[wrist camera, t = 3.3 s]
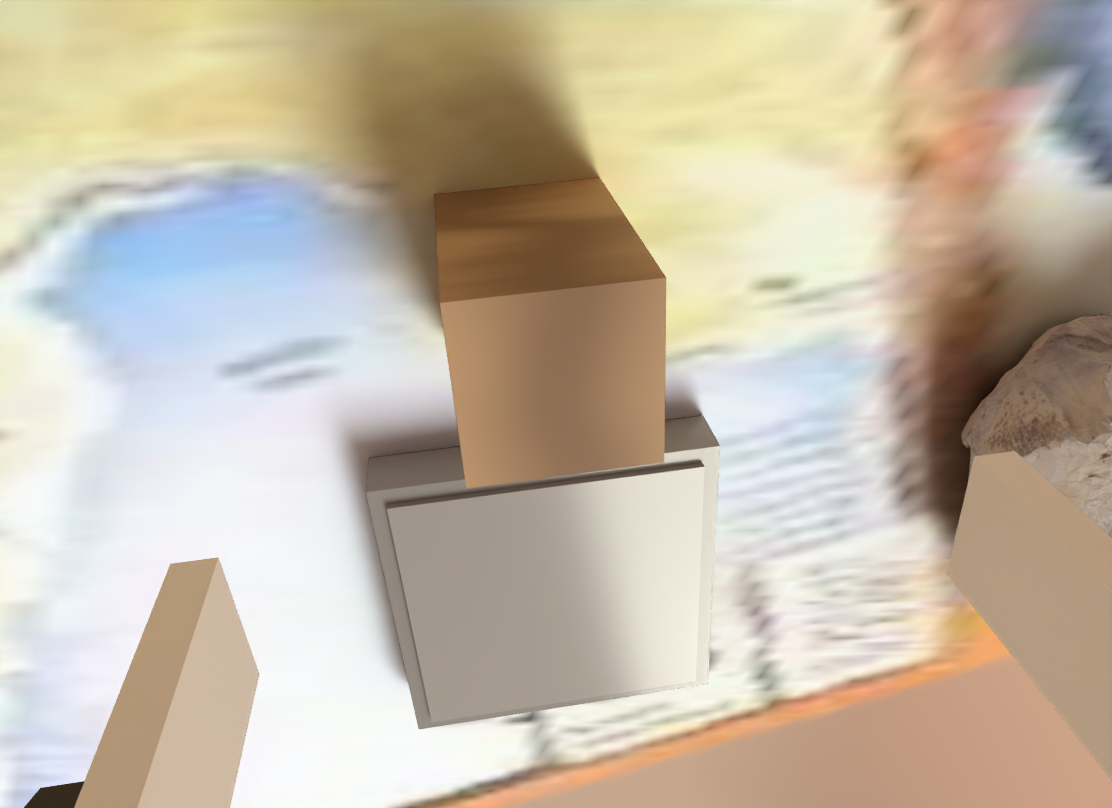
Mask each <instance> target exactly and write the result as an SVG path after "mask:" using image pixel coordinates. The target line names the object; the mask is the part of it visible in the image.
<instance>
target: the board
mask: <svg viewBox="0 0 1112 808" xmlns="http://www.w3.org/2000/svg"><path fill="white" fill-rule="evenodd" d="M719 457H720V445H719V443H718V441H717V440H716V438H715V436H714V434H713V432H712V431H711V429H710V427H709V425H708V423H707V422H706V420H705V418H704V416H696V417H688V418H680V419H673V420H665V442H664V462H663V463H656V464H648V465H640V466H633V467H625V468H618V469H610V470H603V471H595V472H587V473H580V474H572V475H565V476H557V477H549V478H542V479H534V480H527V481H519V482H512V483H504V484H496V485H489V486H481V487H474V488H466V482H465V475H464V468H463V461H462V454H461V447H453V448H445V449H437V450H429V451H421V452H413V453H405V454H398V455H390V456H382V457H374V458H369V463H368V474H367V485H366V496H367V500H368V505H369V509H370V514H371V518H372V522H373V527H374V531H375V536H376V540H377V545H378V549H379V554H380V558H381V563H382V567H383V572H384V576H385V581H386V585H387V590H388V594H389V598H390V603H391V607H392V612H393V616H394V621H395V625H396V630H397V634H398V639H399V643H400V648H401V652H402V657H403V661H404V666H405V670H406V674H407V679H408V683H409V688H410V692H411V697H412V701H413V706H414V710H415V715H416V719H417V724H418V728H419V729H424V728H430V727H437V726H443V725H449V724H456V723H462V722H469V721H475V720H481V719H488V718H494V717H501V716H507V715H513V714H520V713H526V712H533V711H539V710H545V709H552V708H558V707H564V706H571V705H577V704H584V703H590V702H596V701H603V700H609V699H616V698H622V697H628V696H635V695H641V694H648V693H654V692H660V691H667V690H673V689H679V688H686V687H692V686H699V685H705V684H708V669H709V650H710V631H711V611H712V592H713V573H714V554H715V534H716V515H717V496H718V477H719Z"/></svg>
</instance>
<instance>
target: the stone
mask: <svg viewBox="0 0 1112 808" xmlns="http://www.w3.org/2000/svg"><path fill="white" fill-rule="evenodd" d="M961 439H962V443H963V444H964V445H965V446H966V448H968V449H971V456H970V467H969V477H970V472H971V468H972V464H973V460H974V456H981V455H988V454H996V453H1003V452H1011V451H1015V452H1017V453H1018V454H1019V455H1020V456H1021V457H1022V458H1023V459H1024V460H1025V461H1027V462H1028V463H1029V464H1030V465H1031V466H1032V467H1033V468H1034V469H1035V470H1037V471H1038V472H1039V473H1040V474H1041V475H1042V476H1043V477H1044V478H1045V479H1047V480H1048V481H1049V482H1050V483H1051V484H1052V485H1053V486H1054V487H1055V488H1057V489H1058V490H1059V491H1060V492H1061V493H1062V494H1063V495H1064V496H1065V497H1067V498H1068V499H1069V500H1070V501H1071V502H1072V503H1073V504H1074V505H1075V506H1077V507H1078V508H1079V509H1080V510H1081V511H1082V512H1083V513H1084V514H1085V515H1087V516H1088V517H1089V518H1090V519H1091V520H1092V521H1093V522H1094V523H1095V524H1097V525H1098V526H1099V527H1100V528H1101V529H1102V530H1103V531H1104V532H1105V533H1107V534H1108V535H1109V536H1110V537H1111V538H1112V317H1107V316H1105V315H1103V314H1099V315H1097V316H1086V317H1080V318H1077V319H1074V320H1072V321H1070V322H1067V323H1063V324H1059V325H1056V326H1054V327H1053V328H1051V329H1049V330H1047V331H1046V332H1045V333H1044V334H1043V335H1042V336H1041V337H1040V338H1038V339H1037V340H1036V341H1035V342H1033V344H1032V346H1031V348H1030V349H1029V351H1028V352H1027V353H1026V354H1025V355H1024V357H1023V358H1022V359H1021V361H1020V362H1019V363H1018V365H1016V366H1015V367H1014V368H1013V369H1011V370H1009V371H1007V372H1006V373H1005V374H1004V375H1003V377H1002V378H1001V379H1000V381H999V383H998V384H997V386H996V387H995V389H994V390H993V391H992V392H991V393H990V394H989V395H988V396H987V397H986V398H984V399H983V400H982V401H981V402H980V404H979V406H978V407H977V408H976V410H975V411H974V412H973V414H972V415H971V416H970V418H969V420H968V422H967V423H966V425H965V427H964V429H963V431H962V433H961ZM968 481H969V480H968Z"/></svg>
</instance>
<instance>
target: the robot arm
mask: <svg viewBox="0 0 1112 808" xmlns="http://www.w3.org/2000/svg"><path fill="white" fill-rule="evenodd" d="M947 575H948V576H949V577H950V578H951V580H952V581H953V582H954V583H955V585H956V586H957V587H958V588H959V590H960V591H961V592H962V593H963V595H964V596H965V597H966V598H967V600H968V601H969V602H970V603H971V605H972V606H973V607H974V608H975V610H976V611H977V612H978V613H979V615H980V616H981V617H982V618H983V620H984V621H985V622H986V623H987V625H988V626H989V627H990V628H991V630H992V631H993V632H994V633H995V635H996V636H997V637H998V638H999V640H1000V641H1001V642H1002V643H1003V645H1004V646H1005V647H1006V648H1007V650H1008V651H1009V652H1010V653H1011V655H1012V656H1013V657H1014V658H1015V660H1016V661H1017V662H1018V663H1019V665H1020V666H1021V667H1022V668H1023V670H1024V671H1025V672H1026V673H1027V675H1028V676H1029V677H1030V678H1031V680H1032V681H1033V682H1034V683H1035V685H1036V686H1037V687H1038V688H1039V690H1040V691H1041V692H1042V693H1043V695H1044V696H1045V697H1046V698H1047V700H1048V701H1049V702H1050V703H1051V705H1052V706H1053V707H1054V708H1055V710H1056V711H1057V712H1058V713H1059V715H1060V716H1061V717H1062V718H1063V720H1064V721H1065V722H1066V724H1067V725H1068V726H1069V727H1070V728H1071V730H1072V731H1073V732H1074V734H1075V735H1076V736H1077V737H1078V738H1079V740H1080V741H1081V742H1082V743H1083V745H1084V746H1085V747H1086V749H1087V750H1088V751H1089V752H1090V754H1091V755H1092V756H1093V757H1094V759H1095V760H1096V761H1097V762H1098V764H1099V765H1100V766H1101V767H1102V769H1103V770H1104V771H1105V772H1106V773H1107V775H1108V776H1109V777H1110V779H1111V780H1112V538H1111V537H1110V536H1109V535H1108V534H1107V533H1105V532H1104V531H1103V530H1102V529H1101V528H1100V527H1099V526H1098V525H1097V524H1095V523H1094V522H1093V521H1092V520H1091V519H1090V518H1089V517H1088V516H1087V515H1085V514H1084V513H1083V512H1082V511H1081V510H1080V509H1079V508H1078V507H1077V506H1075V505H1074V504H1073V503H1072V502H1071V501H1070V500H1069V499H1068V498H1067V497H1065V496H1064V495H1063V494H1062V493H1061V492H1060V491H1059V490H1058V489H1057V488H1055V487H1054V486H1053V485H1052V484H1051V483H1050V482H1049V481H1048V480H1047V479H1045V478H1044V477H1043V476H1042V475H1041V474H1040V473H1039V472H1038V471H1037V470H1035V469H1034V468H1033V467H1032V466H1031V465H1030V464H1029V463H1028V462H1027V461H1025V460H1024V459H1023V458H1022V457H1021V456H1020V455H1019V454H1018V453H1017V452H1015V451H1011V452H1003V453H996V454H988V455H981V456H974V460H973V464H972V468H971V472H970V477H969V481H968V485H967V489H966V493H965V498H964V502H963V506H962V510H961V515H960V519H959V523H958V527H957V532H956V536H955V540H954V544H953V549H952V553H951V557H950V561H949V566H948V570H947ZM258 677H259V672H258V669H257V666H256V663H255V661H254V658H253V655H252V652H251V649H250V646H249V643H248V641H247V638H246V635H245V632H244V629H243V626H242V623H241V621H240V618H239V615H238V612H237V609H236V606H235V603H234V601H233V598H232V595H231V592H230V589H229V586H228V584H227V581H226V578H225V575H224V572H223V569H222V566H221V564H220V561H219V558H211V559H204V560H197V561H189V562H182V563H174V564H170V566H169V569H168V571H167V574H166V577H165V579H164V582H163V584H162V587H161V589H160V592H159V594H158V597H157V599H156V602H155V604H154V607H153V609H152V612H151V614H150V617H149V620H148V622H147V625H146V627H145V630H144V632H143V635H142V637H141V640H140V642H139V645H138V647H137V650H136V652H135V655H134V658H133V660H132V663H131V665H130V668H129V670H128V673H127V675H126V678H125V680H124V683H123V685H122V688H121V690H120V693H119V695H118V698H117V701H116V703H115V706H114V708H113V711H112V713H111V716H110V718H109V721H108V723H107V726H106V728H105V731H104V733H103V736H102V739H101V741H100V744H99V746H98V749H97V751H96V754H95V756H94V759H93V761H92V764H91V766H90V769H89V771H88V774H87V777H86V779H85V781H83V782H77V783H70V784H64V785H57V786H51V787H44V788H40V789H39V790H38V792H37V793H36V794H35V795H34V796H33V798H32V799H31V800H30V801H29V802H28V803H27V805H26V806H25V807H24V808H230V805H231V800H232V795H233V791H234V786H235V782H236V777H237V773H238V768H239V764H240V759H241V754H242V750H243V745H244V741H245V736H246V732H247V727H248V723H249V718H250V713H251V709H252V704H253V700H254V695H255V691H256V686H257V682H258Z"/></svg>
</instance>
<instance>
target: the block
mask: <svg viewBox="0 0 1112 808" xmlns="http://www.w3.org/2000/svg"><path fill="white" fill-rule="evenodd" d="M434 197H435V218H436V238H437V259H438V279H439V299H440V309H441V316H442V323H443V330H444V336H445V343H446V350H447V357H448V364H449V371H450V378H451V385H452V392H453V399H454V406H455V413H456V420H457V426H458V433H459V440H460V447H461V454H462V461H463V468H464V475H465V482H466V488H474V487H481V486H489V485H496V484H504V483H512V482H519V481H527V480H534V479H542V478H549V477H557V476H565V475H572V474H580V473H587V472H595V471H603V470H610V469H618V468H625V467H633V466H640V465H648V464H656V463H663V462H664V442H665V340H666V277H665V275H664V274H663V272H662V271H661V269H660V268H659V266H658V265H657V263H656V262H655V260H654V259H653V257H652V256H651V254H650V253H649V251H648V250H647V248H646V247H645V245H644V244H643V242H642V241H641V239H640V238H639V236H638V235H637V233H636V232H635V230H634V229H633V227H632V226H631V224H630V223H629V221H628V219H627V218H626V216H625V215H624V213H623V212H622V210H621V209H620V207H619V206H618V204H617V203H616V201H615V200H614V198H613V197H612V195H611V194H610V192H609V191H608V189H607V188H606V186H605V185H604V183H603V182H602V180H601V179H600V178H592V179H582V180H572V181H562V182H552V183H542V184H532V185H522V186H512V187H502V188H492V189H482V190H472V191H462V192H452V193H443V194H434Z"/></svg>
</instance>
